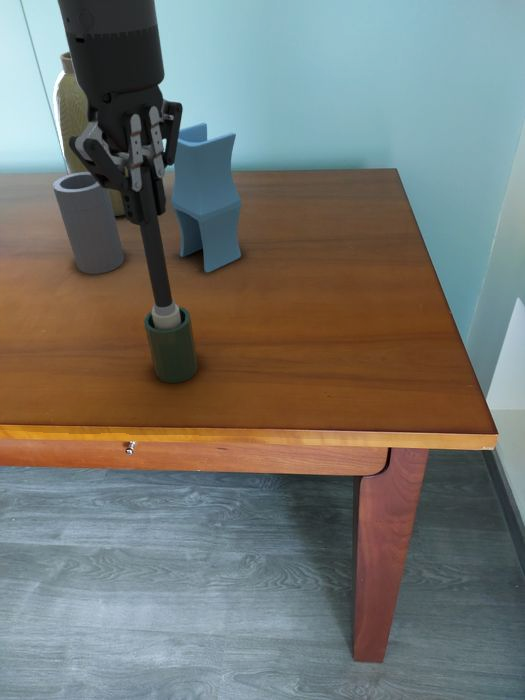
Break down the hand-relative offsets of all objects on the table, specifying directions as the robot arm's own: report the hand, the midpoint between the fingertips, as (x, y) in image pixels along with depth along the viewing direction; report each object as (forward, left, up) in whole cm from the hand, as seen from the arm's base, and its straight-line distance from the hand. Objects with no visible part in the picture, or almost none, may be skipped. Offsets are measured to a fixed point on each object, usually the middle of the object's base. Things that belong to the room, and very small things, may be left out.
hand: (147, 217), depth 54 cm
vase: (+36, +41, -21) cm, 59 cm away
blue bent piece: (+26, +12, -21) cm, 36 cm away
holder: (0, 0, -21) cm, 21 cm away
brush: (0, 0, -18) cm, 18 cm away
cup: (+16, +28, -21) cm, 38 cm away
